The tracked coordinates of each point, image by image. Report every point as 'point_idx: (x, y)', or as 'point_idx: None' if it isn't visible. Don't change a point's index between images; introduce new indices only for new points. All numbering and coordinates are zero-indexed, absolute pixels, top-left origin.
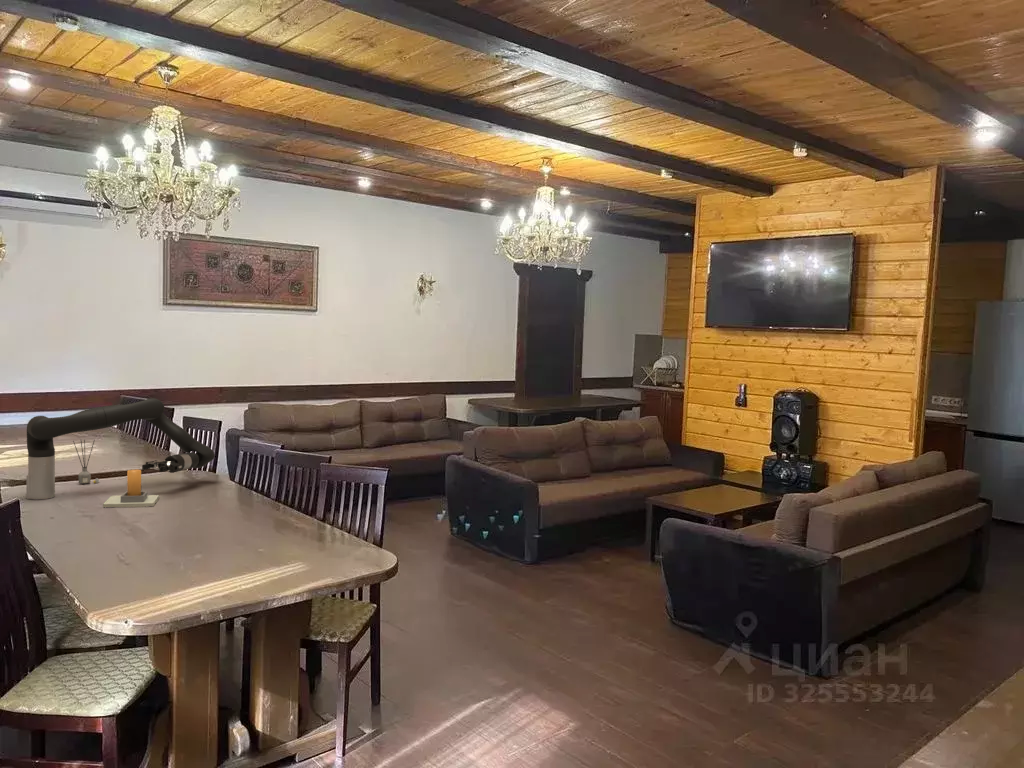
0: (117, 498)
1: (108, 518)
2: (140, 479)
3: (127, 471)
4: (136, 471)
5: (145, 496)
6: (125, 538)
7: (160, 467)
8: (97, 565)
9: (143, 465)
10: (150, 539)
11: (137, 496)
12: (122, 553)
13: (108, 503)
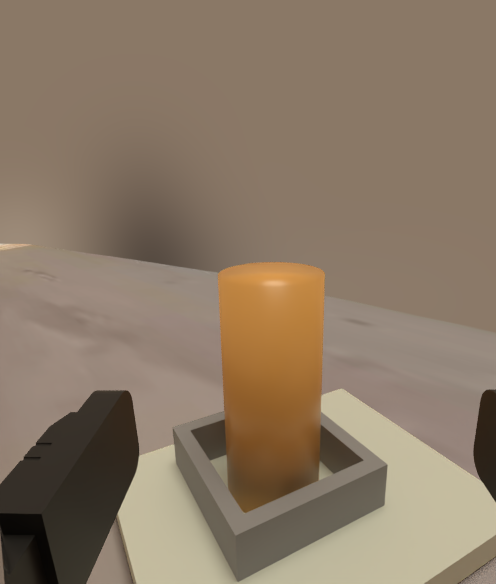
0: (403, 474)
1: (203, 347)
2: (221, 346)
3: (302, 266)
4: (234, 269)
5: (196, 483)
6: (71, 300)
7: (109, 392)
8: (70, 265)
9: (489, 392)
10: (11, 305)
11: (209, 418)
12: (48, 279)
13: (332, 399)
